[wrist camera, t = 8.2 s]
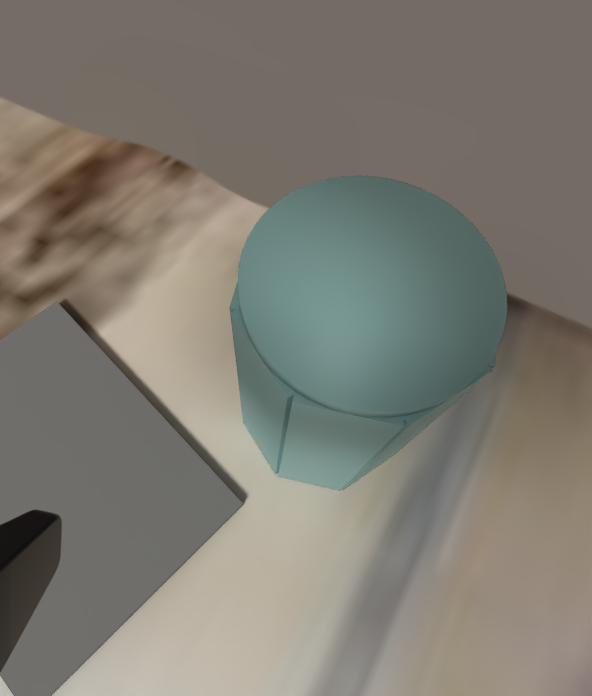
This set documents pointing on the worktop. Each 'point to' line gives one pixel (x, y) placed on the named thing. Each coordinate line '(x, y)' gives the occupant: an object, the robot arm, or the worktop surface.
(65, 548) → the mat
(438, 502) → the worktop surface
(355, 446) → the teal domed post
